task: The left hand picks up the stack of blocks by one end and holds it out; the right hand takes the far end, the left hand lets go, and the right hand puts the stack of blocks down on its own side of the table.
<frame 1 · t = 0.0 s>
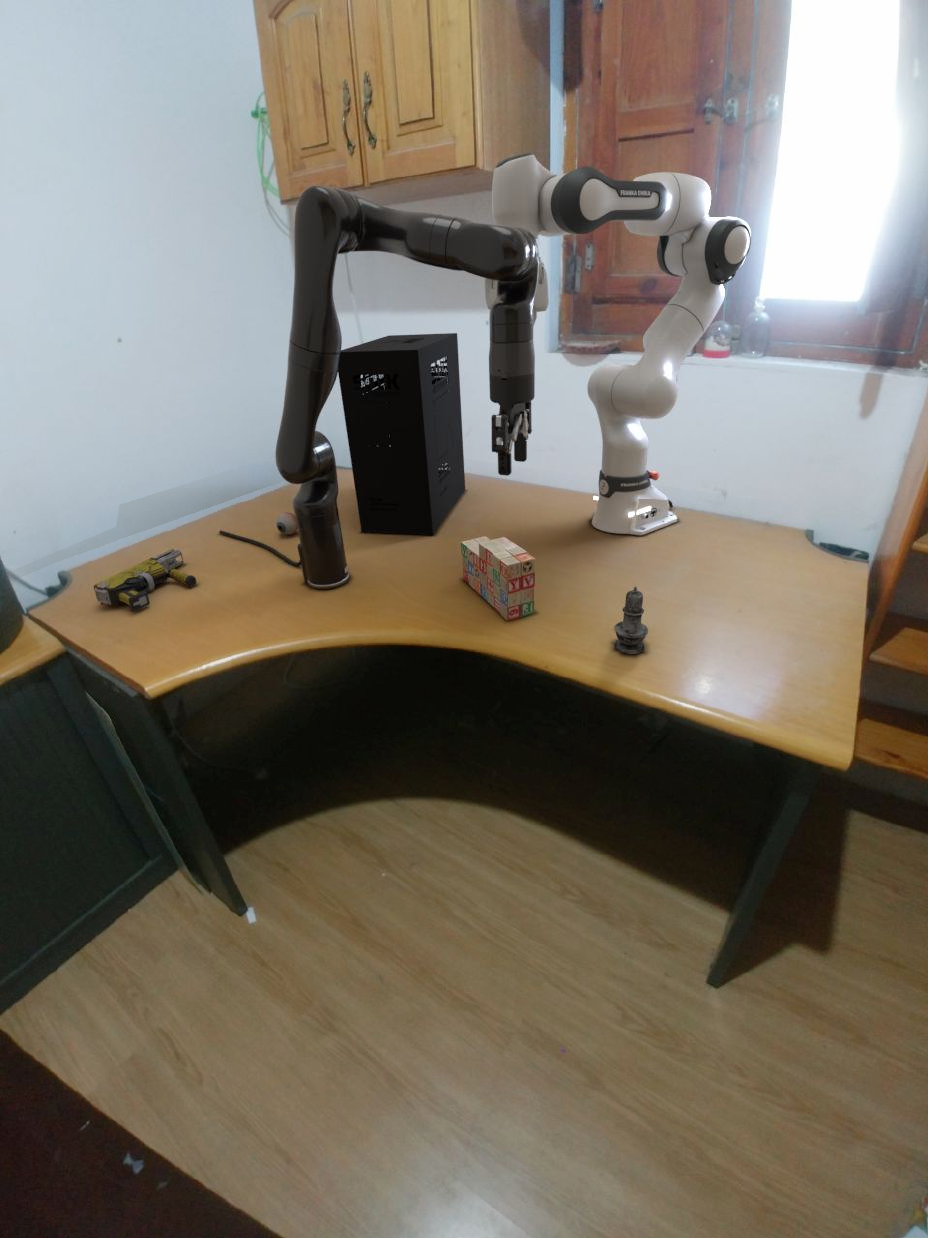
left hand: (512, 467, 108), 29 cm above the table, tool pointing down, fingers open, 8 cm apart
right hand: (516, 335, 125), 48 cm above the table, tool pointing down, fingers open, 8 cm apart
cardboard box: (417, 509, 177), on the table
grey chess piece: (629, 646, 109), on the table
eyeball: (289, 534, 165), on the table
toy gun: (162, 588, 140), on the table
stack of blocks: (496, 595, 128), on the table
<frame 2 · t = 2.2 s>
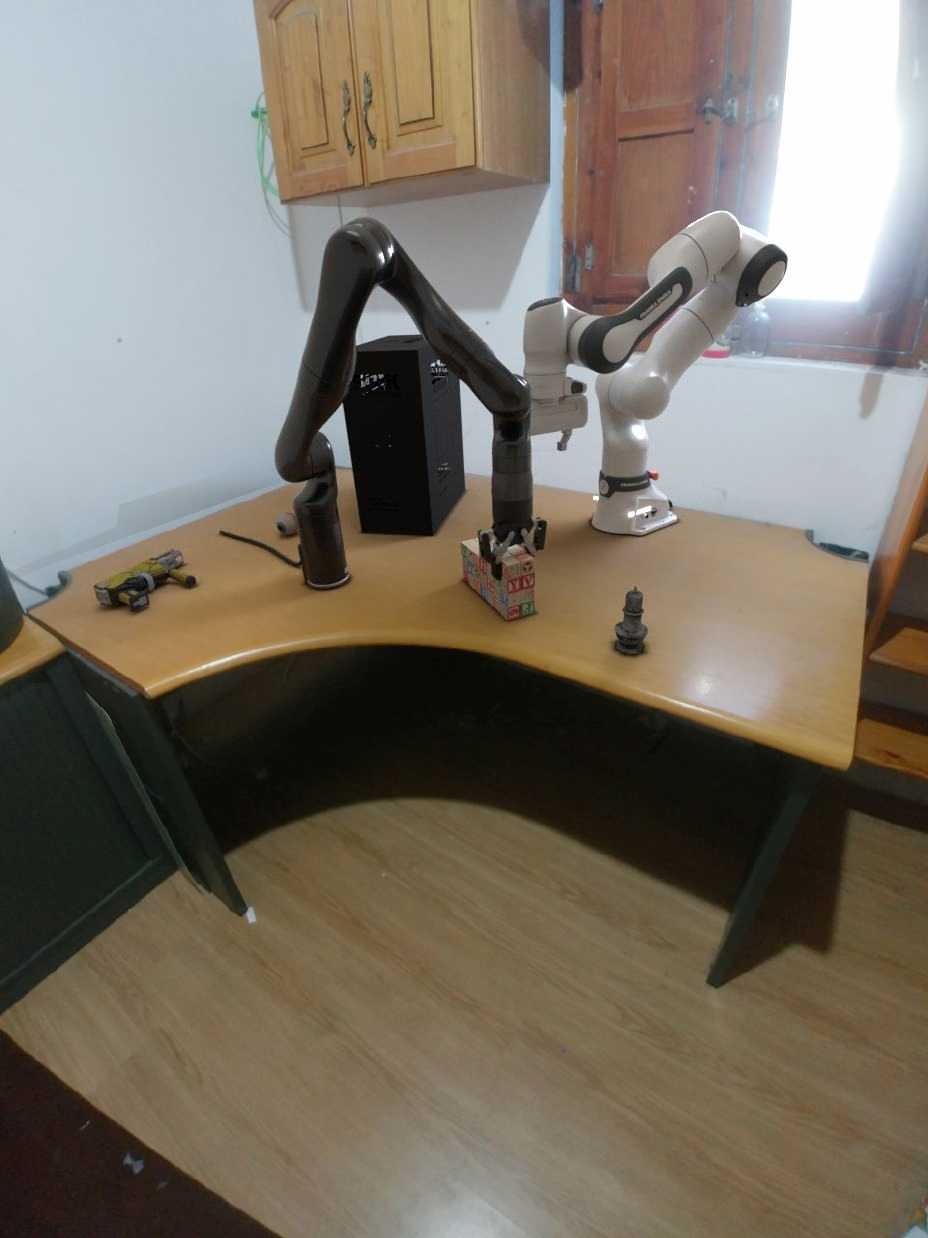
left hand: (513, 574, 118), 8 cm above the table, tool pointing down, fingers closed on stack of blocks, 6 cm apart
right hand: (543, 453, 132), 25 cm above the table, tool pointing down, fingers open, 8 cm apart
stack of blocks: (496, 595, 128), on the table, touching left hand
everything else where it was.
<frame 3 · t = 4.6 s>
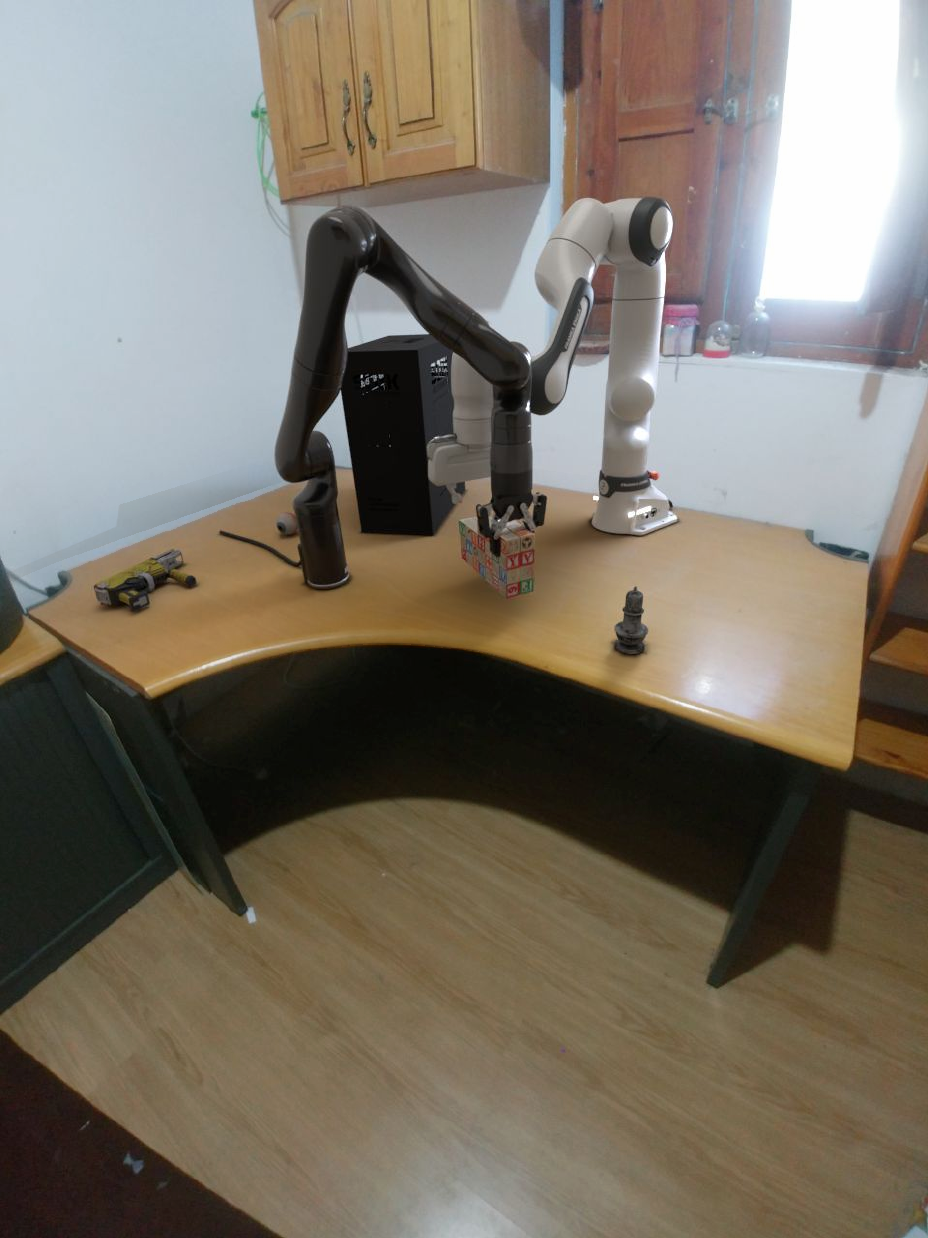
left hand: (512, 551, 116), 13 cm above the table, tool pointing down, fingers closed on stack of blocks, 6 cm apart
right hand: (477, 499, 124), 19 cm above the table, tool pointing down, fingers open, 8 cm apart
stack of blocks: (495, 574, 126), point 5 cm above the table, touching left hand
everything else where it was.
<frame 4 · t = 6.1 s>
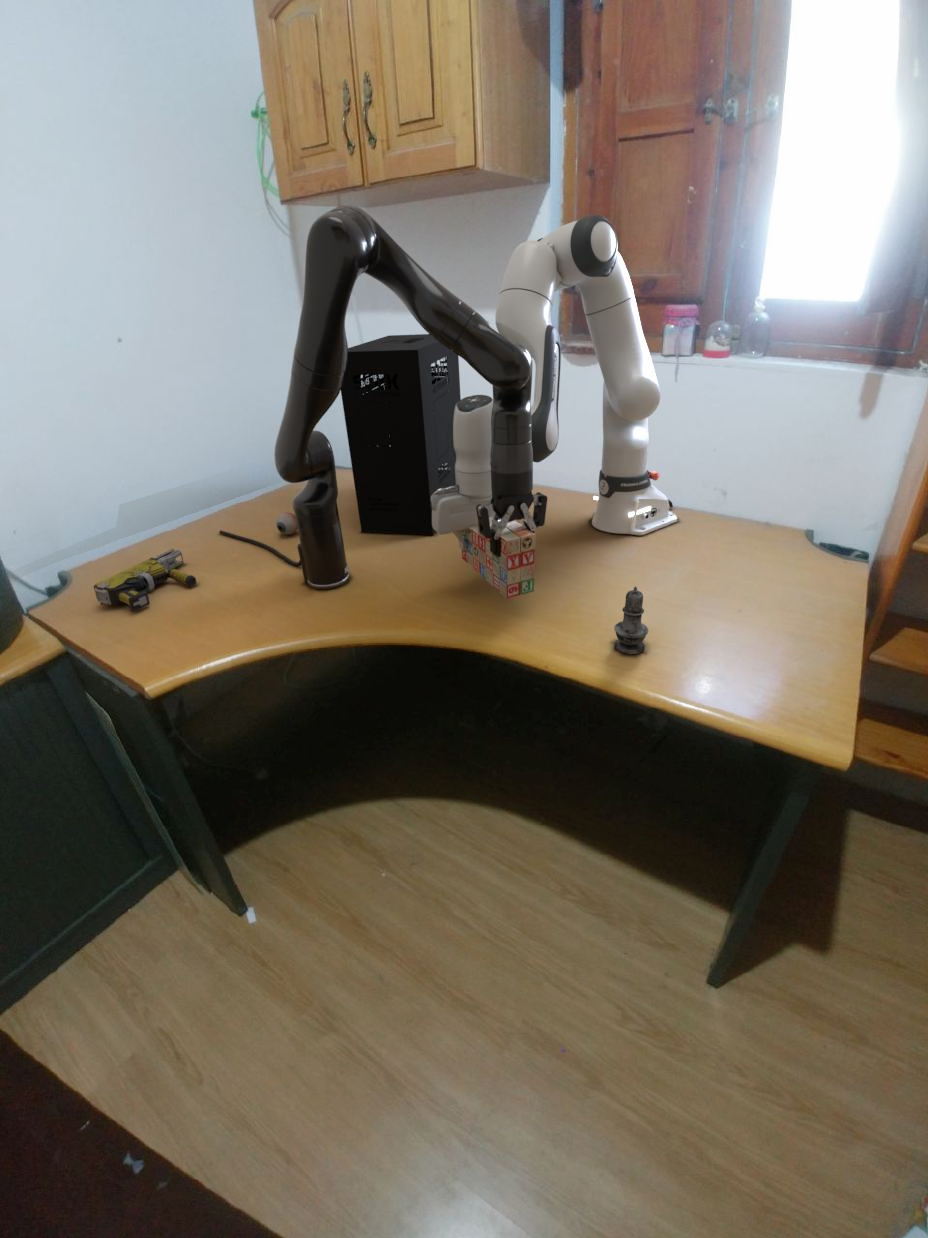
left hand: (512, 551, 116), 13 cm above the table, tool pointing down, fingers closed on stack of blocks, 6 cm apart
right hand: (479, 544, 129), 9 cm above the table, tool pointing down, fingers closed on stack of blocks, 6 cm apart
stack of blocks: (495, 574, 126), point 5 cm above the table, touching right hand, left hand
everything else where it was.
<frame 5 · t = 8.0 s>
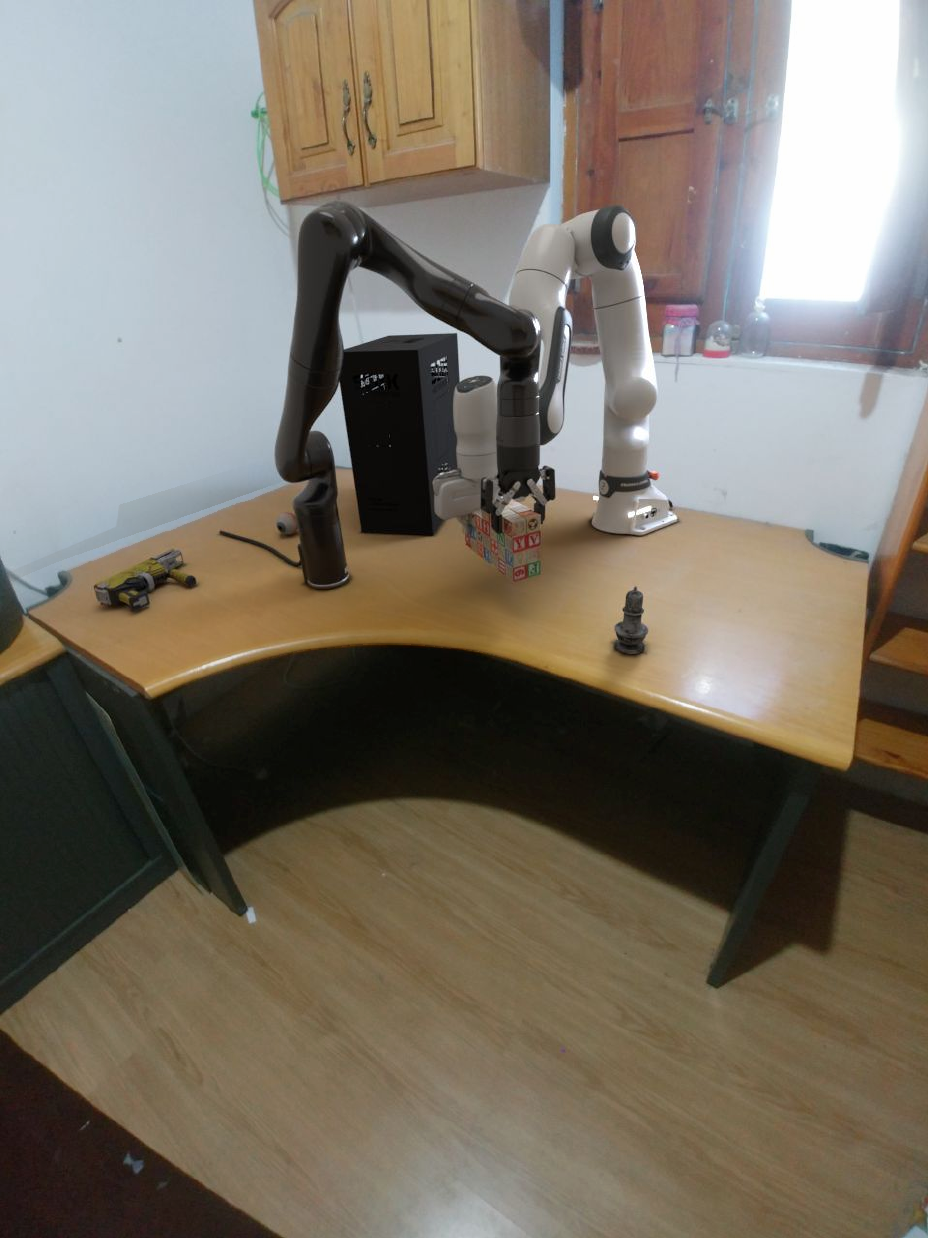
left hand: (518, 527, 112), 18 cm above the table, tool pointing down, fingers open, 8 cm apart
right hand: (483, 529, 127), 13 cm above the table, tool pointing down, fingers closed on stack of blocks, 6 cm apart
stack of blocks: (500, 559, 124), point 9 cm above the table, touching right hand
everything else where it was.
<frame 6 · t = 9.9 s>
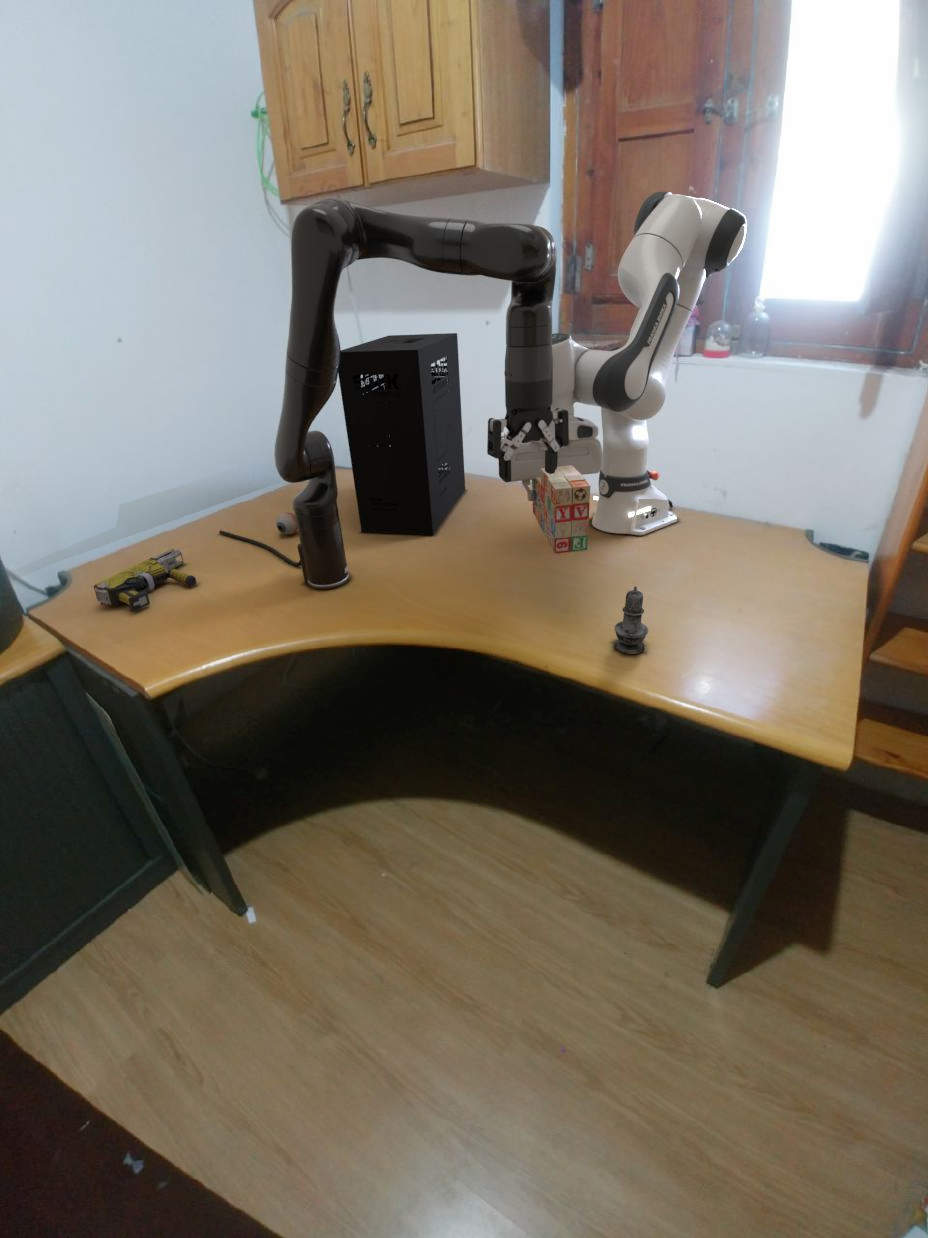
left hand: (528, 476, 103), 29 cm above the table, tool pointing down, fingers open, 8 cm apart
right hand: (550, 498, 122), 19 cm above the table, tool pointing down, fingers closed on stack of blocks, 6 cm apart
stack of blocks: (557, 530, 118), point 15 cm above the table, touching right hand
everything else where it was.
when the right hand's fingers open (6 cm above the table, at t = 13.8 s): stack of blocks stays where it is, on the table.
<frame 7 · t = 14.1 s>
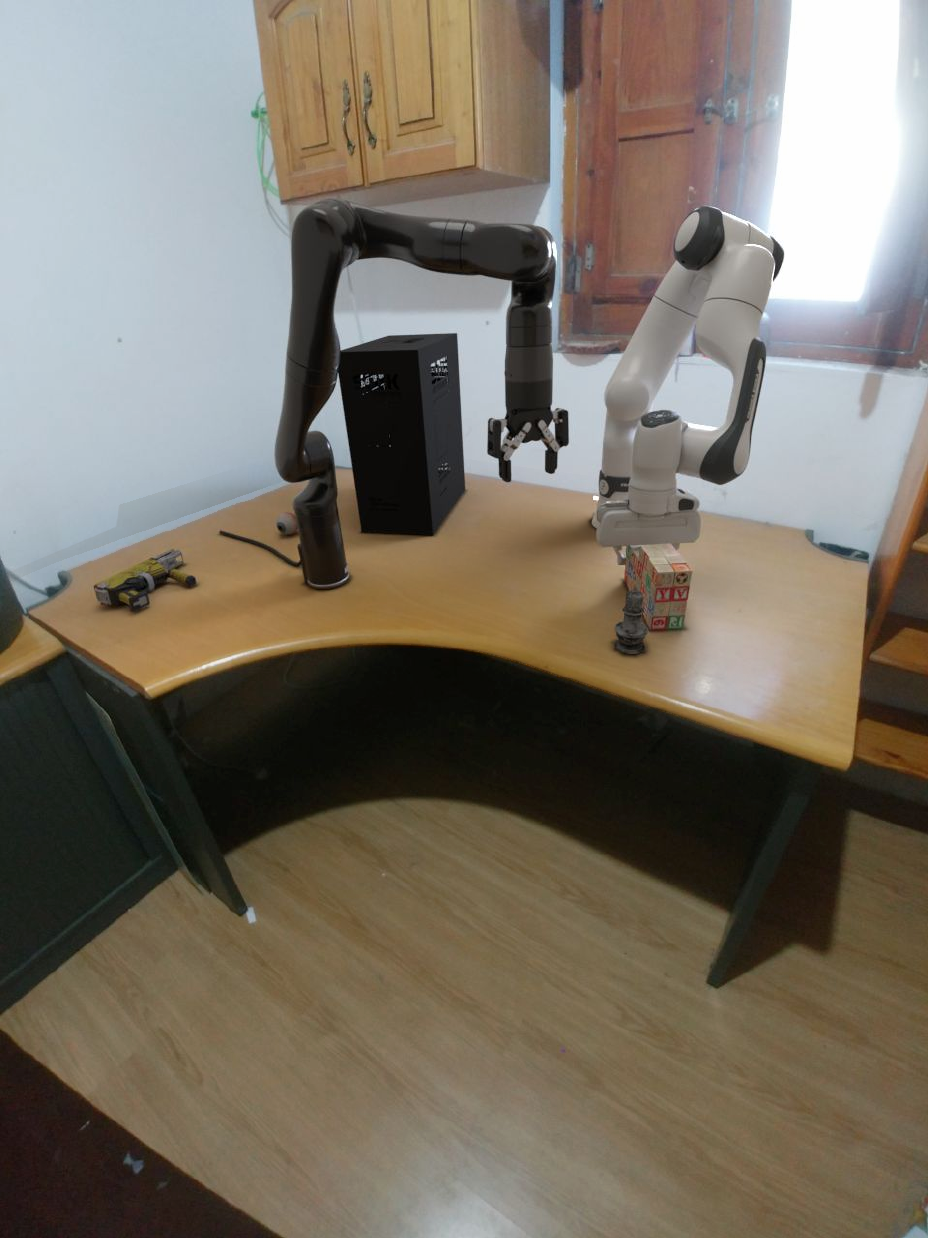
left hand: (528, 476, 103), 29 cm above the table, tool pointing down, fingers open, 8 cm apart
right hand: (643, 562, 125), 6 cm above the table, tool pointing down, fingers open, 8 cm apart
stack of blocks: (651, 602, 122), on the table
everything else where it was.
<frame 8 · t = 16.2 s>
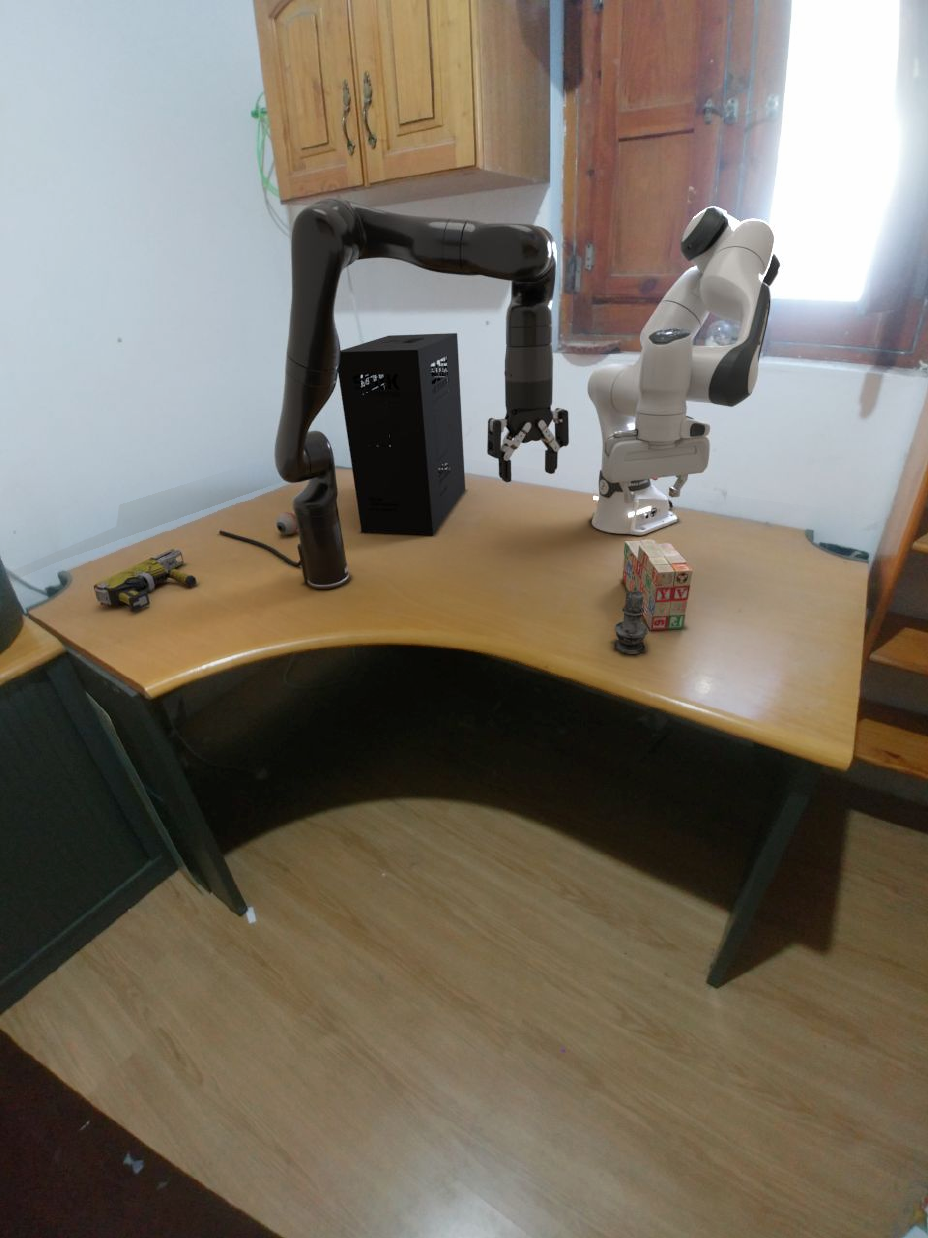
left hand: (528, 476, 103), 29 cm above the table, tool pointing down, fingers open, 8 cm apart
right hand: (651, 499, 118), 20 cm above the table, tool pointing down, fingers open, 8 cm apart
nothing on the table moved.
at the end: stack of blocks inside the target area (6.7 cm from its centre), on the table; the left hand is holding nothing; the right hand is holding nothing; stack of blocks at rest at the end (0.0 cm/s) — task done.
